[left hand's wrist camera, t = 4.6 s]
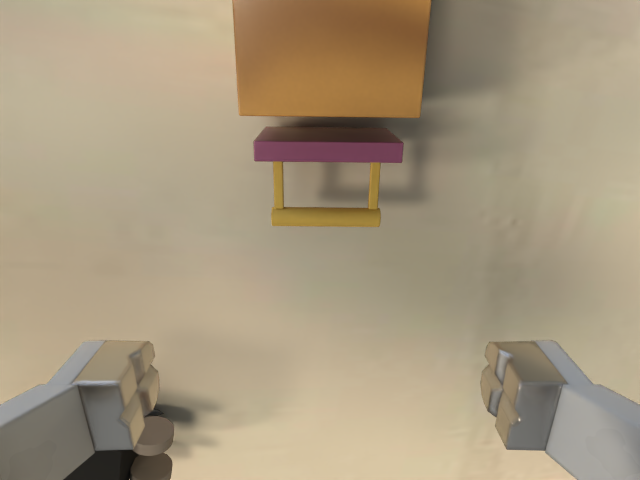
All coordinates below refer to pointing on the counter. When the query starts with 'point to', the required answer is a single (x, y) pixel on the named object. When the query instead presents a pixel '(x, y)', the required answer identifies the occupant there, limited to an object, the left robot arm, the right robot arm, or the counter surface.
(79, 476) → the figurine character
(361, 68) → the wooden box
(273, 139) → the drawer
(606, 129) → the counter surface
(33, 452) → the left robot arm
